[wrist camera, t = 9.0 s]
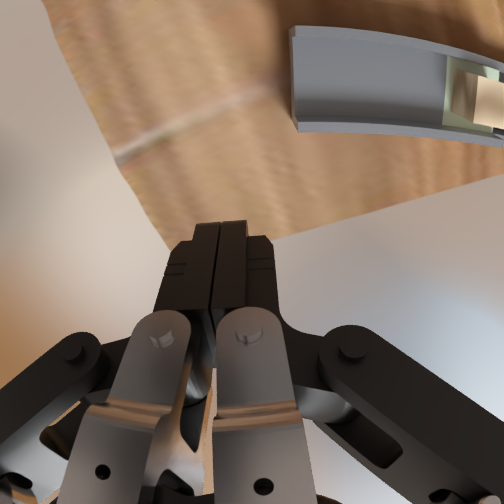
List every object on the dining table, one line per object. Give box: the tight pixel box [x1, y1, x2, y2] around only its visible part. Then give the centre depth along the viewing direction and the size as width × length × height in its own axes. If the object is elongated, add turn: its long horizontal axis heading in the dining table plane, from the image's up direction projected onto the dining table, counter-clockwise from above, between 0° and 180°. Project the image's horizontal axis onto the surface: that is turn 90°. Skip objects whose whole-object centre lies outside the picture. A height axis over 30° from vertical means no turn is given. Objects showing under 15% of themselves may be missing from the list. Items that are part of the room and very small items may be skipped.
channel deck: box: [288, 25, 504, 148], centre depth 26 cm, size 10×33×6 cm, turn 93°
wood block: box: [451, 69, 504, 129], centre depth 24 cm, size 5×5×4 cm
